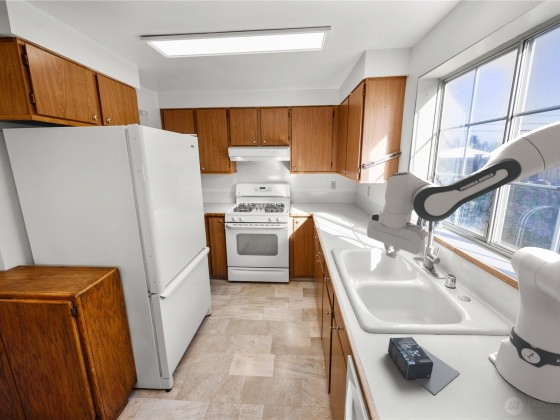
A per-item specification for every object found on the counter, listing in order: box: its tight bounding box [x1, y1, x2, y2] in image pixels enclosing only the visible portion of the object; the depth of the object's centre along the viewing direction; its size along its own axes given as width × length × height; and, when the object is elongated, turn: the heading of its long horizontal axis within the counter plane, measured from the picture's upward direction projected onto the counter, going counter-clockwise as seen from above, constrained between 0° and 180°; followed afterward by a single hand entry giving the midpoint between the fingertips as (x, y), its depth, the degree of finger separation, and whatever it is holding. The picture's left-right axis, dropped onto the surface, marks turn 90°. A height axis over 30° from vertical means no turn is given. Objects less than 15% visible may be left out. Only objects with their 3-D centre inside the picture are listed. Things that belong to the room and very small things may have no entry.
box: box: [387, 336, 433, 380], centre depth 76 cm, size 8×6×11 cm
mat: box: [414, 345, 461, 396], centre depth 75 cm, size 14×12×1 cm
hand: (390, 256), depth 86 cm, fingers closed
